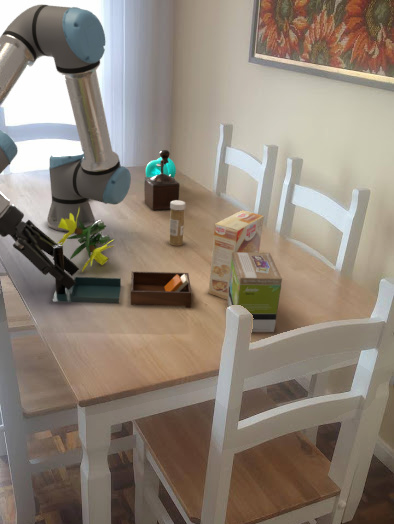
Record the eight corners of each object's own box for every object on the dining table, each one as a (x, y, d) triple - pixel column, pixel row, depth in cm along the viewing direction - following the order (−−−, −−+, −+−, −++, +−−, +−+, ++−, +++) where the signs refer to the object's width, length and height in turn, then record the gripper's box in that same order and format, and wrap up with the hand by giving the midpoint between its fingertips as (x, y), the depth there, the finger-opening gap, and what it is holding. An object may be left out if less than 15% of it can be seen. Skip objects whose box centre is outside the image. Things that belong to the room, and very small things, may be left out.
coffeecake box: (230, 301, 150) (238, 230, 140) (207, 293, 153) (213, 223, 143) (256, 282, 161) (265, 215, 151) (234, 275, 164) (241, 209, 154)
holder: (131, 285, 154) (131, 271, 152) (187, 286, 156) (188, 272, 154) (130, 306, 144) (130, 291, 142) (190, 307, 146) (191, 292, 143)
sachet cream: (184, 273, 151) (186, 275, 152) (170, 286, 152) (173, 288, 153) (186, 280, 147) (188, 282, 148) (172, 293, 149) (175, 295, 149)
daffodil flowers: (134, 243, 181) (119, 258, 148) (94, 265, 183) (71, 284, 150) (106, 195, 177) (85, 198, 143) (66, 218, 179) (36, 226, 145)
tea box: (225, 303, 149) (231, 250, 141) (263, 304, 150) (271, 251, 142) (233, 333, 136) (240, 276, 128) (275, 333, 137) (284, 277, 129)
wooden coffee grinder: (180, 208, 211) (183, 159, 201) (152, 210, 207) (153, 159, 197) (166, 196, 223) (168, 148, 213) (139, 197, 219) (140, 149, 209)
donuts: (176, 182, 239) (177, 158, 234) (165, 188, 231) (166, 163, 226) (155, 178, 242) (156, 154, 237) (144, 184, 235) (144, 159, 229)
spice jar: (185, 245, 181) (188, 203, 174) (173, 247, 179) (175, 205, 172) (178, 240, 184) (180, 199, 177) (165, 242, 182) (167, 200, 175)
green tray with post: (57, 285, 151) (54, 238, 144) (120, 287, 153) (120, 241, 146) (52, 302, 143) (48, 253, 136) (118, 304, 144) (118, 256, 137)
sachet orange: (166, 289, 152) (163, 287, 152) (179, 276, 151) (177, 273, 151) (169, 296, 149) (167, 294, 148) (183, 283, 148) (180, 281, 147)
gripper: (-1, 211, 145) (68, 271, 155) (-20, 240, 128) (59, 306, 138) (19, 191, 142) (87, 254, 153) (2, 218, 125) (80, 287, 136)
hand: (73, 278), depth 145 cm, fingers open, 7 cm apart
